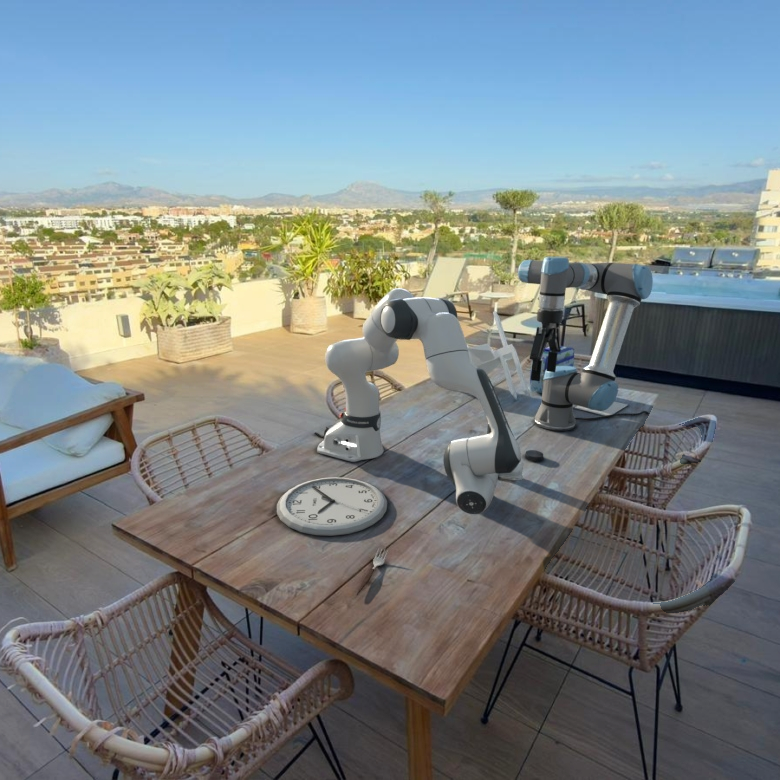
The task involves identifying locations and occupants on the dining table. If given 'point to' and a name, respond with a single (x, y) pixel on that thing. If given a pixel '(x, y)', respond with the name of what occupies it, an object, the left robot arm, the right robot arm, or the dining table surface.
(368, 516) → the wall clock
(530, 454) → the lid
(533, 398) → the dining table surface
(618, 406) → the invitation card
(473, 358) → the white plastic object
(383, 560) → the fork
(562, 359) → the lunch box
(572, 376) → the right robot arm
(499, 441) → the left robot arm
